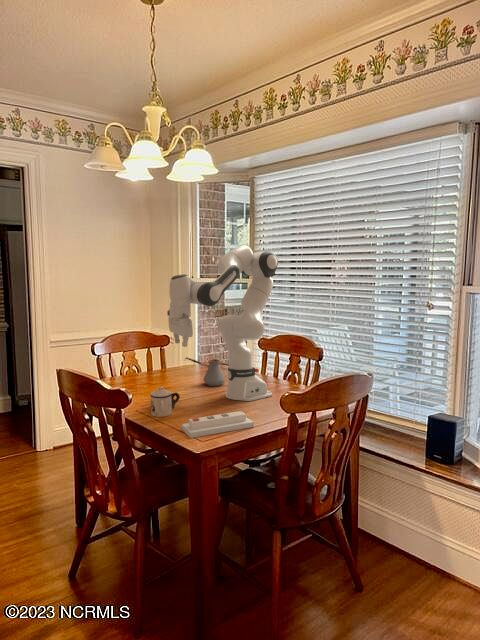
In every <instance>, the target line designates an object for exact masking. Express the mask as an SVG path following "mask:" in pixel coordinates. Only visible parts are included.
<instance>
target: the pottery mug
mask: <svg viewBox="0 0 480 640" xmlns="http://www.w3.org/2000/svg"><path fill="white" fill-rule="evenodd" d="M171 393H172V395H171V402H172V409H174V408H175V404H176V403H177V402H178V401H180V397H181V396H180V394H179V392H171ZM175 397H176V398H175ZM174 398H175V399H174Z"/></svg>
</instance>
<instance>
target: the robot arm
mask: <svg viewBox="0 0 480 640" xmlns="http://www.w3.org/2000/svg"><path fill="white" fill-rule="evenodd" d="M217 263H218V264H217V267H218V271H219V273H220V275H219V276H218V277H217V278H216V279H215V280H214V281H209V282H208V281H207V282H202V281H196V280H194V279H192V278H191V277H190V276H189V275H188V274H184V273H183V274H177V275H174V276H173V275H172V277H171V278H170V280H169V281H170V282H169V291H168V294H169V299H170V300H169V301H170V303H169V309H168V310H167V312H166V313H167V314H166V315H167V316H168V328H169V332H170V333H173V338H174V343H175V344H180V343H181V345H182V347H184V348H187V347H188V341H189V338H192V337H193V335H194V334H193V333H194V332H193V331H194V330H193V328H194V327H193V321H192V319H191V318H190V317H191V316H192V310H191V309H192V307H191V304H193V305H203V306H206V307H213V306H216V305H217V304H218V302H220V300H221V298H222V296H223V295H224V293H225V292H226V291H227V290H228V289H229V288H230V287H231V285H232V284H233V283H235V281H236V280H237V279H238V278H239V276H240V274H242V275H243V276H247V277H252V279H251V280H252V281H251V283H250V285H249V287H248V288H247V290H246V291H245V294H244V296H243V297H242V299H241V302H240V305H241V306H242V309H243V313H242V314H240V315H238V314H227V315H223V316H221V317H220V318H219V320H218V321H217V330H218V332H219V333H220V335H221V336H222V337H223V339H224V341H225V344H226V347H227V352H228V368H227V379H228V380H227V381H228V382H227V383H228V384H227V389H226V394H225V398H227V399H229V400H233V401H235V400H236V401H245V402H251V401H256V400H260V399H266V398H268V397H272V396H273V393H272V391H270V390H268V386H267V383H266V382H265V380H264V379H262V378H261V377H260V376H259V375H257V374H258V373H259V372H260V369H259V368H256V367H253V351H252V349H251V348H250V347H249V346H248V344H247V343H246V341H255V340H259V339H261V338H262V337H263V335H264V334H265V333H264V332H265V325H264V322H263V321H262V314H263V311H264V309H265V308H264V307H266V304H267V302H268V300H269V298H270V297H271V293H272V292H273V291H272V290H273V287H274V280H273V277H274V276H275V274H276V270H278V264H279V259H278V257H277V255H276V254H275V252H272V251H263V252H262V251H261V252H260V251H259V252H255V253H254V252H253V249H251V247H249V246H248V245H245V244H242V245H239V246H237V247H234V248H232V249H231V250H229V251H228V252H226V253H225V254H223V256H222V257H221V258H220V259H219V260H218V262H217ZM180 337H182V342H181V339H180ZM256 373H257V374H256Z"/></svg>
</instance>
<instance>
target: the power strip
mask: <svg viewBox="0 0 480 640" xmlns="http://www.w3.org/2000/svg"><path fill="white" fill-rule="evenodd" d="M246 417H247V414H246V413H244V412H243V411H241V410H240V411H239V410H237V411H234V412H228V413H227V412H226V413H220V414H213V415H208V416H202V417H193V418H189V419H188V423H189V426H190V427H191V428H192V429H198V428H204V427H210V426H216V425H222V424H228V423H234V422H240V421H246Z"/></svg>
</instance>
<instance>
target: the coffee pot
mask: <svg viewBox="0 0 480 640" xmlns="http://www.w3.org/2000/svg"><path fill="white" fill-rule="evenodd" d="M186 360H188V361H190V362H193V363H196V364H198V365H202V366H204V367H206V368H207V370H206V373H205V374H204V377H203V382H204V383H205V384H206V385H207V386H209V387H219V386H222V384H224V383H225V382H226V377H225V375H224V373H223V370H222V367H221V366H220V363H221V359H208V361H207V362H208V363H209V364H205V363H202V362H200V361H198V360H196V359H193V358H189V357H187V356H186V357H185V358H184V361H186Z"/></svg>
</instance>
